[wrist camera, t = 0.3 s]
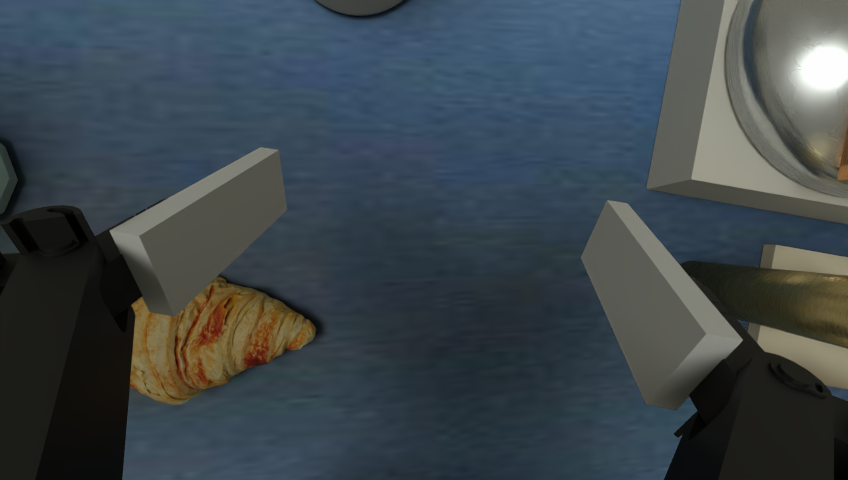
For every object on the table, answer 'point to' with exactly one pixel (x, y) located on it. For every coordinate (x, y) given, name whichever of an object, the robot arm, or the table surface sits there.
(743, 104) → the silver metal disc
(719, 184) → the beige square block
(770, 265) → the birch pad
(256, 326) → the croissant
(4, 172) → the water bottle
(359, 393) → the table surface
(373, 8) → the cylinder vase
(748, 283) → the brass capsule
